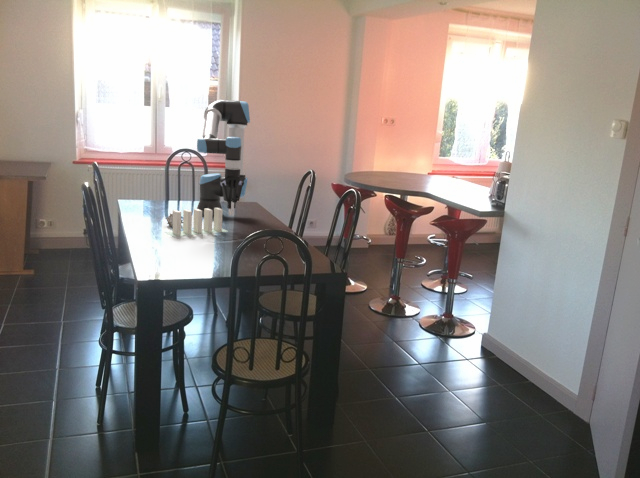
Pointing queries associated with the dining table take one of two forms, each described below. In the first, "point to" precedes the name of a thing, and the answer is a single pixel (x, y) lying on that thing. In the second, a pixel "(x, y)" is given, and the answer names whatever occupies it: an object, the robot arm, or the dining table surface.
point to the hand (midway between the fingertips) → (231, 214)
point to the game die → (171, 220)
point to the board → (196, 232)
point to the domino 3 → (197, 220)
